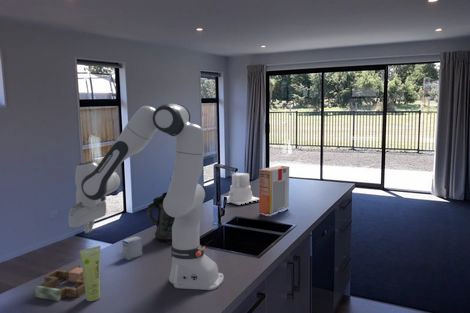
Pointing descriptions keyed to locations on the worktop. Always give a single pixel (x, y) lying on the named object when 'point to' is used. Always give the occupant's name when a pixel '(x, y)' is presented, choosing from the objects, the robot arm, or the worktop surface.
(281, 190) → the pasta box
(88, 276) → the tube
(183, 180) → the robot arm
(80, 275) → the terracotta block
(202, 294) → the worktop surface
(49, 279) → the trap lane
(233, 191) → the recessed light fixture
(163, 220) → the beer stein
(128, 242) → the medicine box
